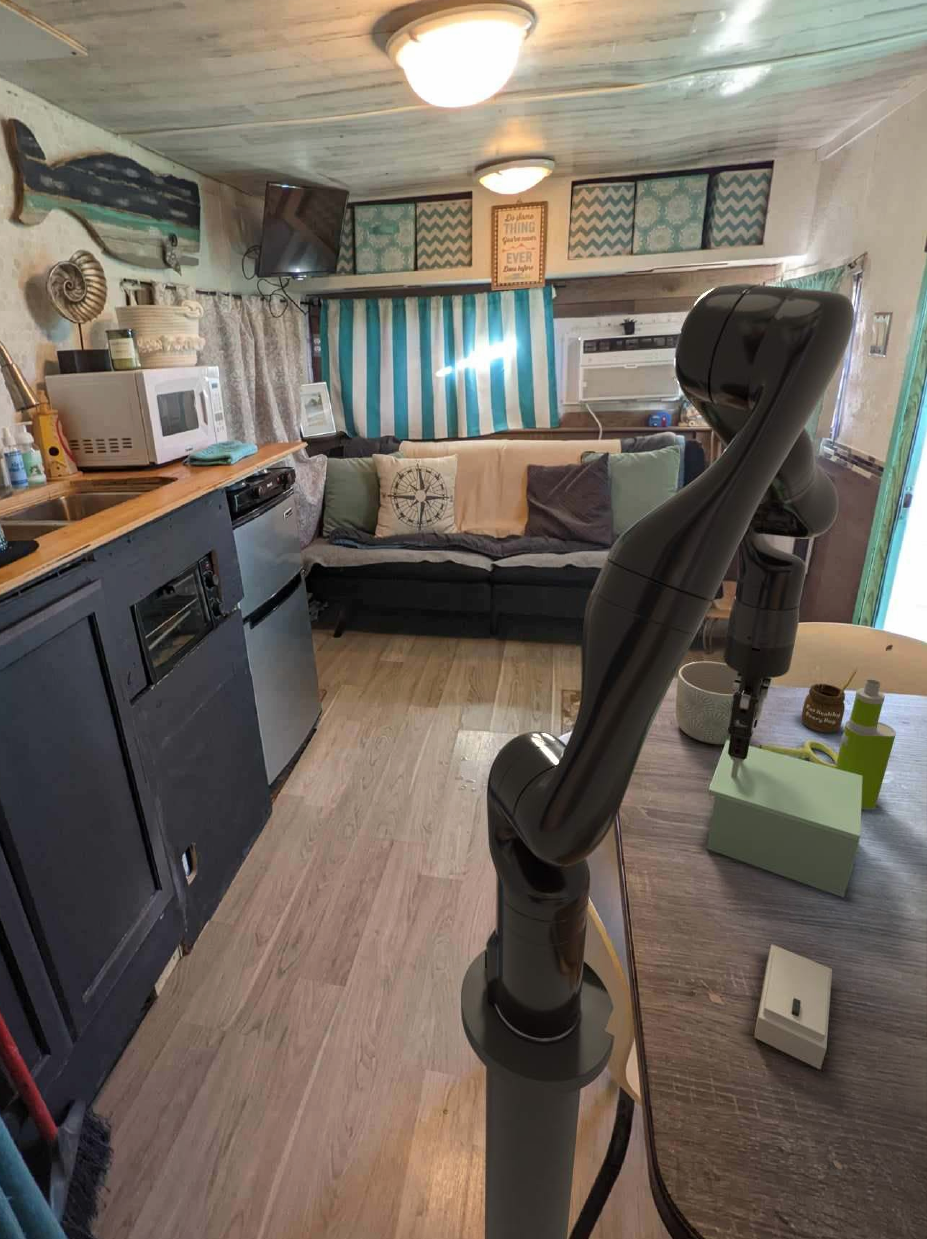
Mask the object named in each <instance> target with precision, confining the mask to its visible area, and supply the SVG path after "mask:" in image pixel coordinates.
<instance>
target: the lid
mask: <svg viewBox="0 0 927 1239" xmlns="http://www.w3.org/2000/svg"><path fill="white" fill-rule="evenodd" d="M729 743H730V741H729V740H727V741H726V743H725V744H724V747H723V749H722V752H721V755H720V757H719V759H718V762H717V765H716V768H715V771H714V773H713V777H712V779H711V783H710V784H709V787H708V791H707V795H709V796H713V797H715V796H716V797H719V798H722V799H725V800H729V801H732V802H735V803H738V804H741V805H745V806H748V807H751V808H754V809H757V810H761V811H764V812H767V813H770V814H773V815H777V816H780V817H783V818H786V819H789V820H793V821H796V822H799V823H802V824H805V825H809V826H812V827H815V828H818V829H822V830H825V831H828V832H831V833H834V834H838V835H841V836H844V837H847V838H850V839H854V840H857V841H859V842H860V839H861V832H862V809H861V806H862V777H863V776H862V775H858V774H854V773H850V772H846V771H843V770H839V769H835V768H831V767H828V766H824V765H820V764H816V763H812V762H811V761H810V760H805V759H800V758H797V757H795V756H790V755H783V754H778V753H775V752H771V751H767V750H763V749H759V747H756V746H752V745H749V749H748V755H747V758H746V759H739V758H735V757H732V756H730V755H729V754H728V749H729Z"/></svg>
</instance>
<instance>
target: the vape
mask: <svg viewBox="0 0 927 1239" xmlns="http://www.w3.org/2000/svg"><path fill="white" fill-rule="evenodd" d="M880 688H881V682H880V681H879V680H875V679H867V680H866V681H865V684H864V687H859V688H857V689H856V690H855V691H856V692H855V697H854V701H853V706H852V709H851V713H850V716H849V719H848V720H847V721H845V725H844V730H843V732H842V736H841V742H840V746H839V749H838V753H837V754H838V758H837V762H836V763H835V764H836V766H835V769H839V770H843V771H846V772H850V773H854V774H858V775H862V776H863V777H862V806H861V810H874V809H876V807H877V803H878V799H879V796H880V792H881V789H882V786H883V781H884V779H885V774H886V772H887V768H888V764H889V760H890V756H891V753H892V748H893V746H894V743H895V739H896V735H897V732H896V731H895V729H894V728H893V727H892V726H890V725H889V724H887V723H884V722H880V721H879V720H880V716H881V712H882V708H883V705H884V702H885V698H886V695H885V694H884V693H883V692H882V691H880Z"/></svg>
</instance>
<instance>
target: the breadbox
mask: <svg viewBox="0 0 927 1239" xmlns="http://www.w3.org/2000/svg"><path fill="white" fill-rule="evenodd" d="M859 843H860V840H859V841H857V840H854V839H850V838H847V837H844V836H841V835H838V834H834V833H831V832H828V831H825V830H822V829H818V828H815V827H812V826H809V825H805V824H802V823H799V822H796V821H793V820H789V819H786V818H783V817H780V816H777V815H773V814H770V813H767V812H764V811H761V810H757V809H754V808H751V807H748V806H745V805H741V804H738V803H735V802H732V801H729V800H725V799H722V798H719V797H716V796H714V802H713V808H712V814H711V820H710V827H709V833H708V839H707V845H706V850H709V851H711V852H714V853H717V854H719V855H723V856H726V857H729V858H730V859H735V860H737V861H740V862H742V863H745V864H747V865H751V866H754V867H756V868H758V869H759V868H760V869H763V870H765V871H768V872H771V873H773V874H777V875H779V876H781V877H785V878H788V879H790V880H792V881H796V882H799V883H801V884H804V885H807V886H810V887H813V888H816V889H818V890H822V891H823V892H827V893H829V894H833V895H835V896H838V897H841V898H844V897H845V894H846V891H847V887H848V883H849V881H850V880H849V879H850V876H851V872H852V869H853V866H854V862H855V858H856V854H857V850H858V847H859Z"/></svg>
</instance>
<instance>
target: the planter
mask: <svg viewBox="0 0 927 1239" xmlns="http://www.w3.org/2000/svg"><path fill="white" fill-rule="evenodd" d="M677 673H678V674H677V682H676V684H677V685H676V697H675V717H676V722H677V725H678V727H679V728H680V729H681V730H682V731H683V733H685V734H686V735H688V736H689V737H691V738H693V739H695V740H697V741H699V742H702V743H706V744H712V745H725V743H726V741H727V740H729V741H730V737H731V735H730V734H728V727H729V725H730V719H731V714H732V713H731V711H730V708H731V703H732V699H733V694H734V692H733V684H734V680H735V679H736V678H737V673H738V672H737V671H735V670H733V669H731V668H730V667H729V666H727V664H726V663H725V662H718V661H705V660H703V661H694V662H690V663H687V664H684V665H683V666H681V667H679V669H678V671H677ZM736 724H739V720H737V723H736Z"/></svg>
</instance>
